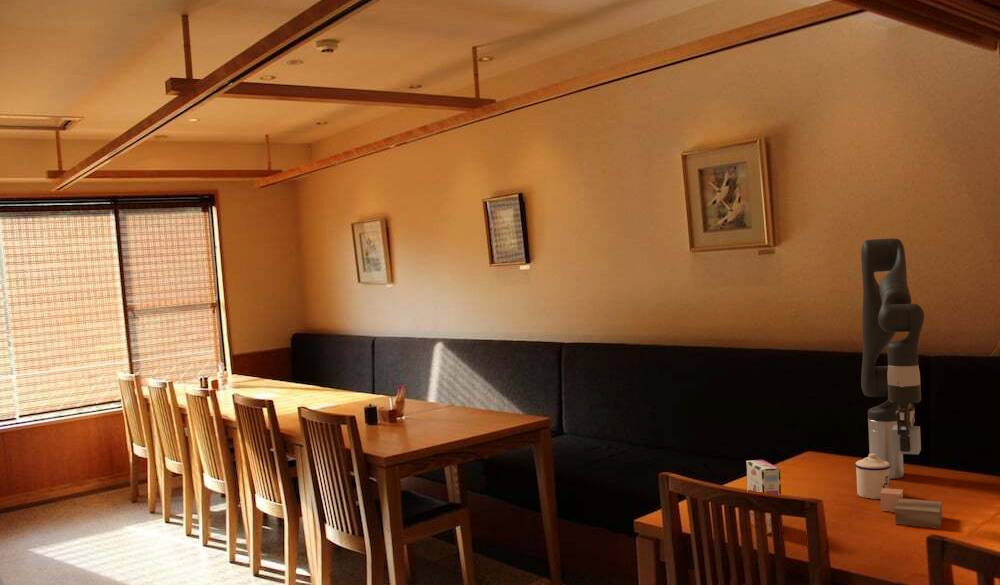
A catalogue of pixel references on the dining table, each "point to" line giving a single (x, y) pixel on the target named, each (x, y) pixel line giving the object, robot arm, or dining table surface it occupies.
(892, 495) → the terracotta block
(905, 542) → the dining table surface
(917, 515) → the walnut plinth
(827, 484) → the dining table surface
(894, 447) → the slate block
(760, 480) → the candy bar box
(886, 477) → the teacup with lid
